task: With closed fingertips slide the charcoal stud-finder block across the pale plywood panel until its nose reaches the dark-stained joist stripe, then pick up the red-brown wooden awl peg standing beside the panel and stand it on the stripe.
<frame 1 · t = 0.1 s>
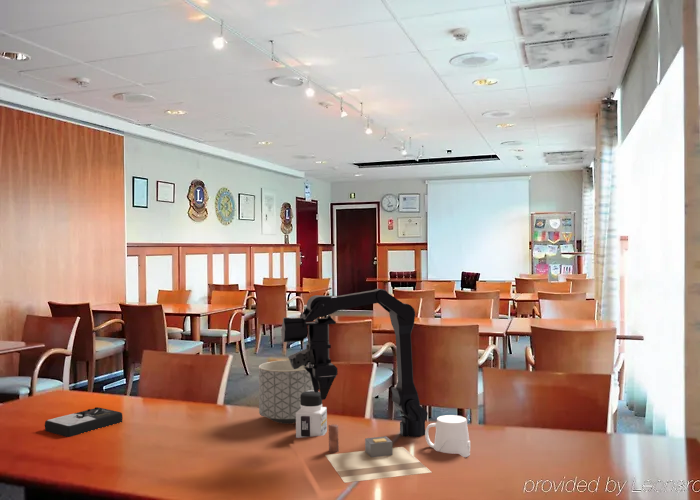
hand: (319, 395, 168), 15 cm above the table, fingers open, 9 cm apart
multimeter: (84, 428, 192), on the table
planter: (288, 421, 196), on the table
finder: (378, 453, 159), point 1 cm above the table, touching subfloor
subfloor: (376, 467, 151), on the table
container: (311, 435, 179), on the table
mug: (447, 453, 162), on the table
awl: (333, 455, 161), on the table
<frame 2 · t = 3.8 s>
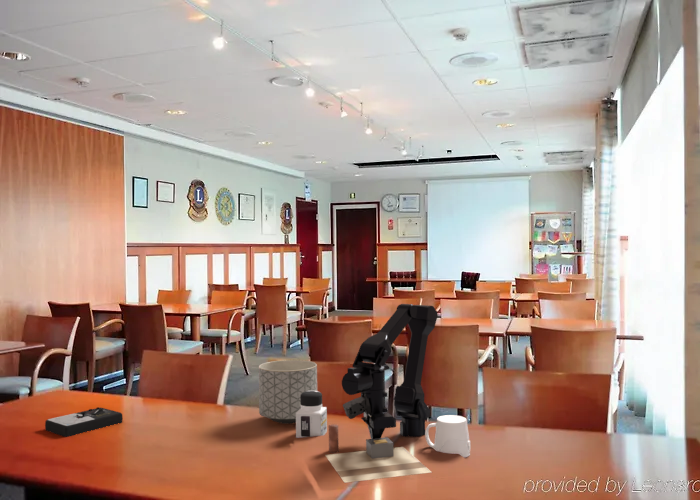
hand: (374, 445, 162), 2 cm above the table, fingers closed
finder: (379, 454, 158), point 1 cm above the table, touching gripper
everything else where it was.
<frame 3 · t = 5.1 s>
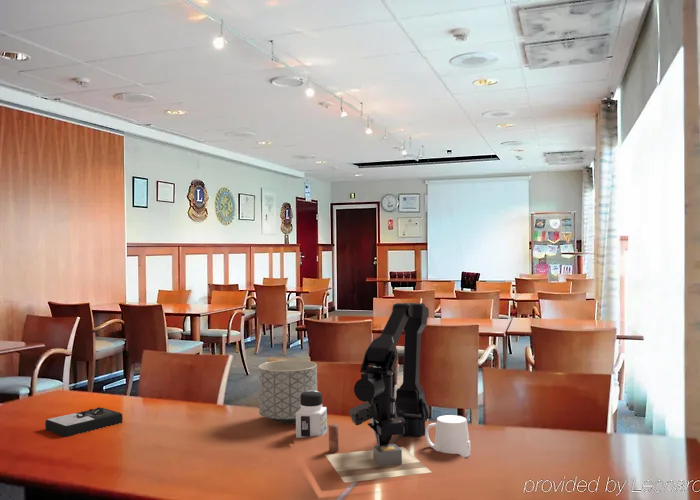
hand: (382, 452, 156), 2 cm above the table, fingers closed
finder: (387, 461, 152), point 1 cm above the table, touching gripper
everything else where it was.
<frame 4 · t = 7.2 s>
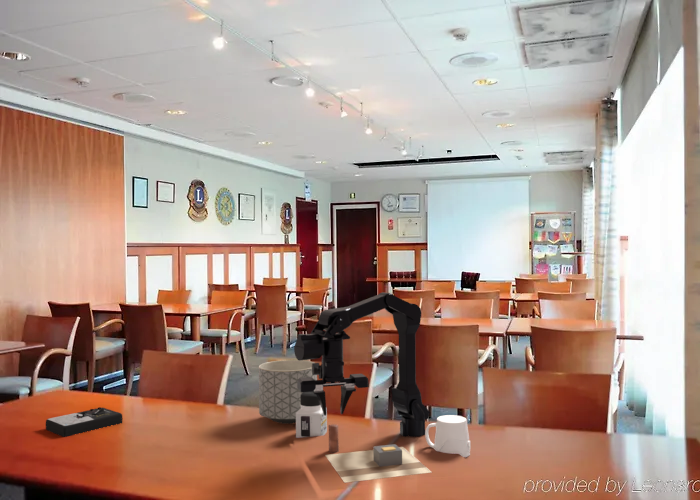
hand: (333, 414, 161), 11 cm above the table, fingers open, 4 cm apart
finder: (387, 462, 152), point 1 cm above the table, touching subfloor
everything else where it was.
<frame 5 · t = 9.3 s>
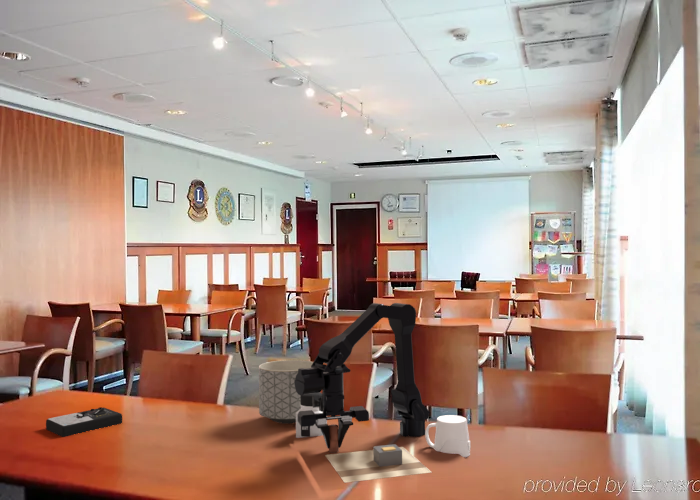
hand: (333, 447, 161), 2 cm above the table, fingers closed on awl, 3 cm apart
awl: (333, 455, 161), on the table, touching gripper
everything else where it was.
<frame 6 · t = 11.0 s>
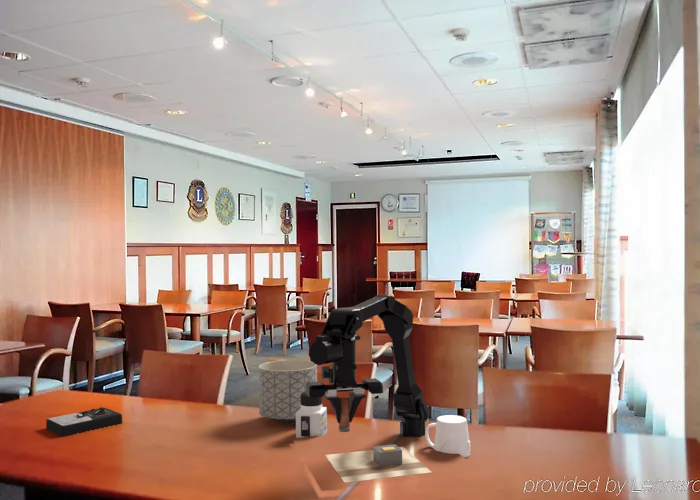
hand: (344, 422, 148), 12 cm above the table, fingers closed on awl, 3 cm apart
awl: (344, 430, 148), point 10 cm above the table, touching gripper
when the fingers open (4 cm above the table, at t = 12.9 s): awl drops 1 cm, resting on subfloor.
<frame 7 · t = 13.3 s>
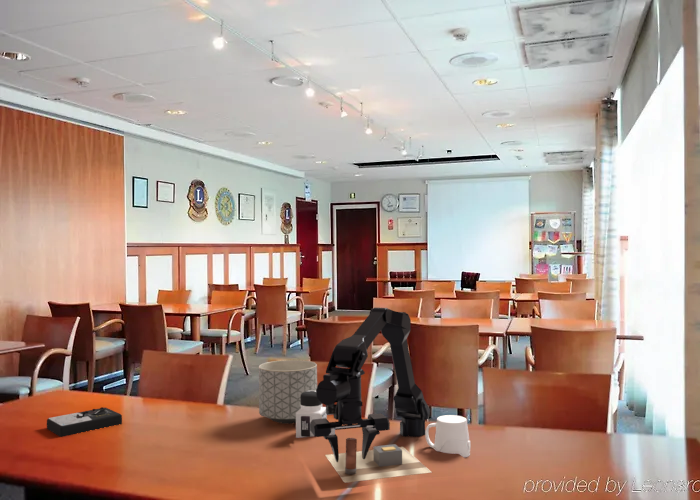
hand: (350, 460, 145), 4 cm above the table, fingers open, 6 cm apart
awl: (350, 472, 145), point 1 cm above the table, touching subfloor
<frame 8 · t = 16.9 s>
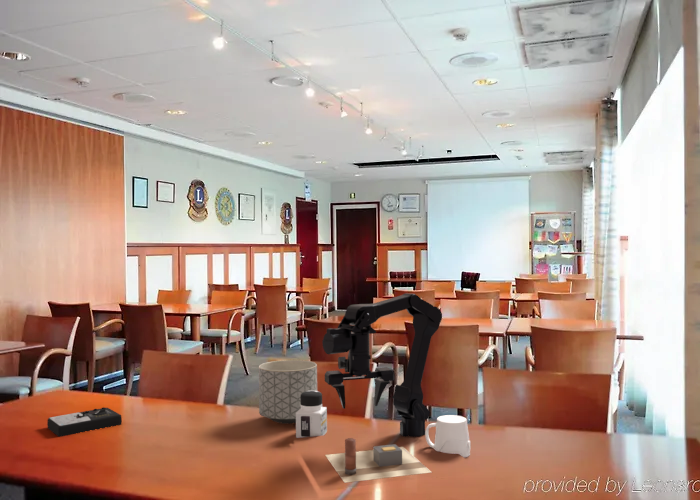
hand: (359, 407, 165), 12 cm above the table, fingers open, 9 cm apart
at the end: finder inside the target area (0.1 cm from its centre), point 1.2 cm above the table; awl 0.0 cm from the target spot, point 1.2 cm above the table; awl tilted 0° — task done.
